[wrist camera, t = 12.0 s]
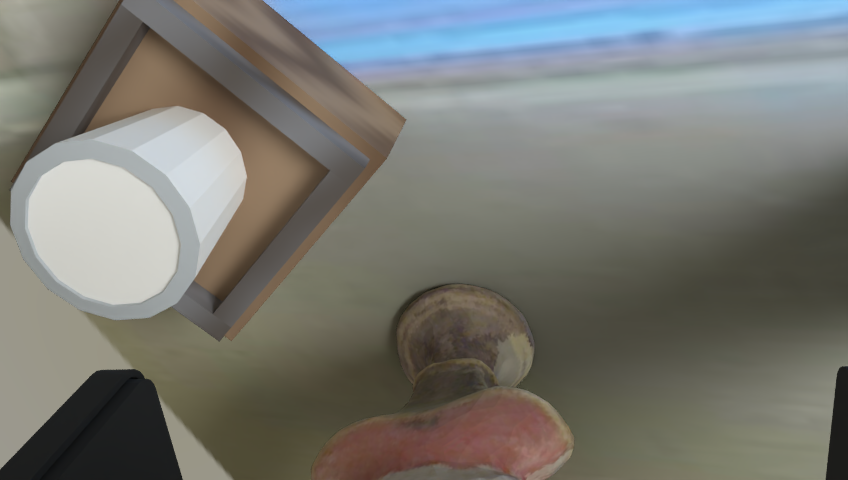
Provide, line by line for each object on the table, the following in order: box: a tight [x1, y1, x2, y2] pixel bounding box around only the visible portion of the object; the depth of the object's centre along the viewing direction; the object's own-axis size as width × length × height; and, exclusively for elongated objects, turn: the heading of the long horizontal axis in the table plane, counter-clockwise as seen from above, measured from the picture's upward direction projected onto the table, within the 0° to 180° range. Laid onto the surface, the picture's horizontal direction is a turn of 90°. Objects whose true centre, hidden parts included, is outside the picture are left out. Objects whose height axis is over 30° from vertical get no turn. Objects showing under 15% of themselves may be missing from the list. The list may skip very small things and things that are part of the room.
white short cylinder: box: [10, 106, 247, 320], centre depth 30 cm, size 7×7×7 cm
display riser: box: [10, 0, 406, 341], centre depth 35 cm, size 12×12×7 cm
